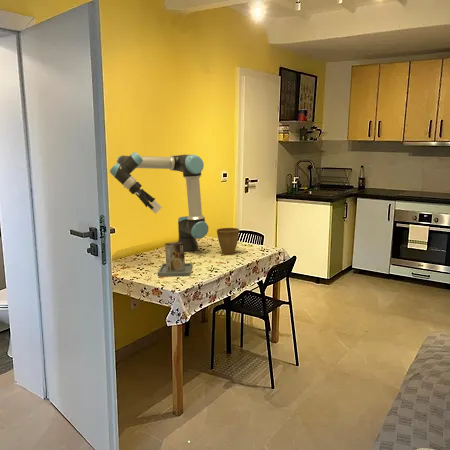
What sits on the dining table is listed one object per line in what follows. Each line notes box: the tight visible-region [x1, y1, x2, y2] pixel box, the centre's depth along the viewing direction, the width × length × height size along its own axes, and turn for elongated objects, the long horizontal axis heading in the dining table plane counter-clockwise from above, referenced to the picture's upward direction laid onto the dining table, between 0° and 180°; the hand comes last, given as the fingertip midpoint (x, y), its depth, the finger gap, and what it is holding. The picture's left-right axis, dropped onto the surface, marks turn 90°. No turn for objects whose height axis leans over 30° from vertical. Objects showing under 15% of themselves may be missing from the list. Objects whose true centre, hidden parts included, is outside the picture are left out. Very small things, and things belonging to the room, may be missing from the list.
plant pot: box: [216, 227, 240, 255], centre depth 298 cm, size 15×15×16 cm
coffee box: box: [164, 240, 186, 272], centre depth 256 cm, size 9×6×16 cm
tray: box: [157, 262, 193, 277], centre depth 258 cm, size 20×18×2 cm
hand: (159, 210), depth 268 cm, fingers open, 13 cm apart
